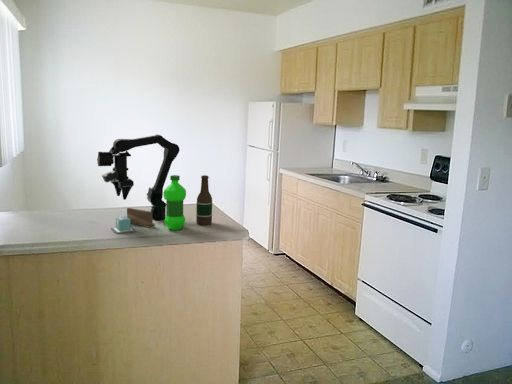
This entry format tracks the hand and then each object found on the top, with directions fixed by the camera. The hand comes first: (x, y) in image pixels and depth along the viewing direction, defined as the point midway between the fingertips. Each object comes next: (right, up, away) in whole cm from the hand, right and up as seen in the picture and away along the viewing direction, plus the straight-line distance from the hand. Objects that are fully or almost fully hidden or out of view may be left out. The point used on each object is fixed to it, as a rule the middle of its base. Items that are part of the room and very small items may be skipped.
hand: (121, 197), depth 215 cm
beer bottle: (+39, -13, +5) cm, 42 cm away
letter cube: (+4, -14, -12) cm, 19 cm away
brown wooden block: (+9, -13, -1) cm, 16 cm away
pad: (+4, -15, -11) cm, 19 cm away
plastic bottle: (+27, -15, -5) cm, 31 cm away
